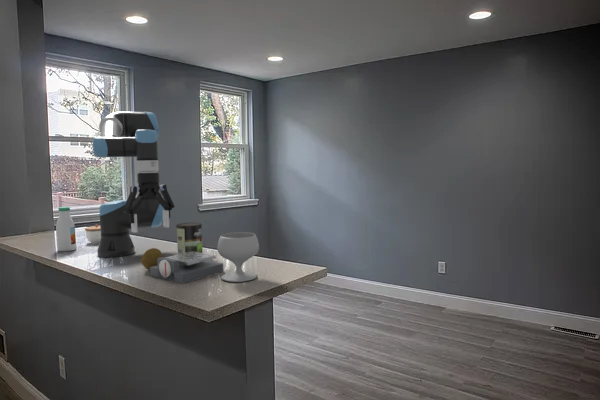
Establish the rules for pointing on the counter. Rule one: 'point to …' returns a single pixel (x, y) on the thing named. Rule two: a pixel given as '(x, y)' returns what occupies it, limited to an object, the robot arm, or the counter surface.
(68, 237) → the milk bottle
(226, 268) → the counter surface
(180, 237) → the coffee can
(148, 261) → the potato
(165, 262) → the scale base
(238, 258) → the chalice
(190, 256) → the platform
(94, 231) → the lidded jar
